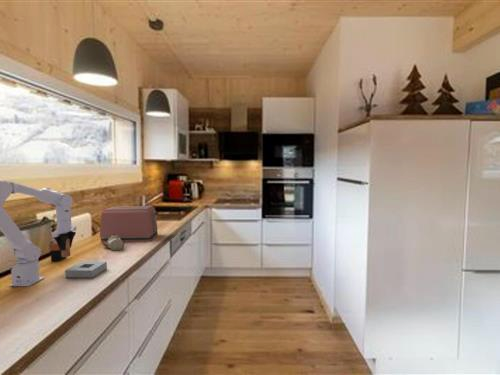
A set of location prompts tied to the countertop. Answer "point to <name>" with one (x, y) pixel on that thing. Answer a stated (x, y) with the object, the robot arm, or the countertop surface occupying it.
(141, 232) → the toaster
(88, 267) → the socket block
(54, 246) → the battery
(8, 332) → the countertop surface
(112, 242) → the ceramic sculpture
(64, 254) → the peg
